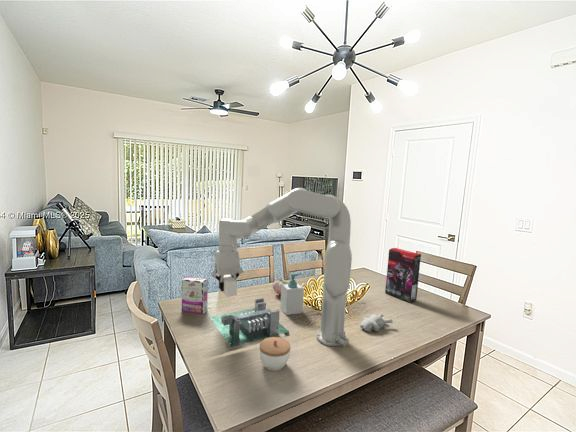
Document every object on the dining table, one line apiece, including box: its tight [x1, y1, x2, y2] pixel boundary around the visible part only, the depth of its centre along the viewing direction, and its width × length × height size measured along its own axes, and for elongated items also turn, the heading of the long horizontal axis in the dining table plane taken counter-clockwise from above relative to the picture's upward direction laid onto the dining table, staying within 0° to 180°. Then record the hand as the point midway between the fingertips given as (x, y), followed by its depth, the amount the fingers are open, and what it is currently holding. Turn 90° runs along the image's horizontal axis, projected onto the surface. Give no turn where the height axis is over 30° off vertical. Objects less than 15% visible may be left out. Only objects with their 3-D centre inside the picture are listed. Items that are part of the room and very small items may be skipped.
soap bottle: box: [279, 272, 305, 316], centre depth 150 cm, size 9×9×19 cm
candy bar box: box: [181, 276, 209, 315], centre depth 143 cm, size 11×5×16 cm, turn 76°
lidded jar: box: [259, 336, 291, 372], centre depth 106 cm, size 11×11×9 cm
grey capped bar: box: [221, 308, 272, 326], centre depth 126 cm, size 4×22×2 cm, turn 121°
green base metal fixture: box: [209, 297, 290, 348], centre depth 132 cm, size 27×26×11 cm
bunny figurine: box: [359, 313, 393, 333], centre depth 138 cm, size 10×5×15 cm
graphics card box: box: [384, 247, 422, 303], centre depth 174 cm, size 17×7×27 cm, turn 37°
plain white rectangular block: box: [217, 274, 238, 297], centre depth 130 cm, size 12×4×6 cm, turn 32°
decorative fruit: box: [272, 277, 289, 296], centre depth 169 cm, size 9×8×10 cm
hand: (227, 288), depth 130 cm, fingers closed on plain white rectangular block, 4 cm apart
